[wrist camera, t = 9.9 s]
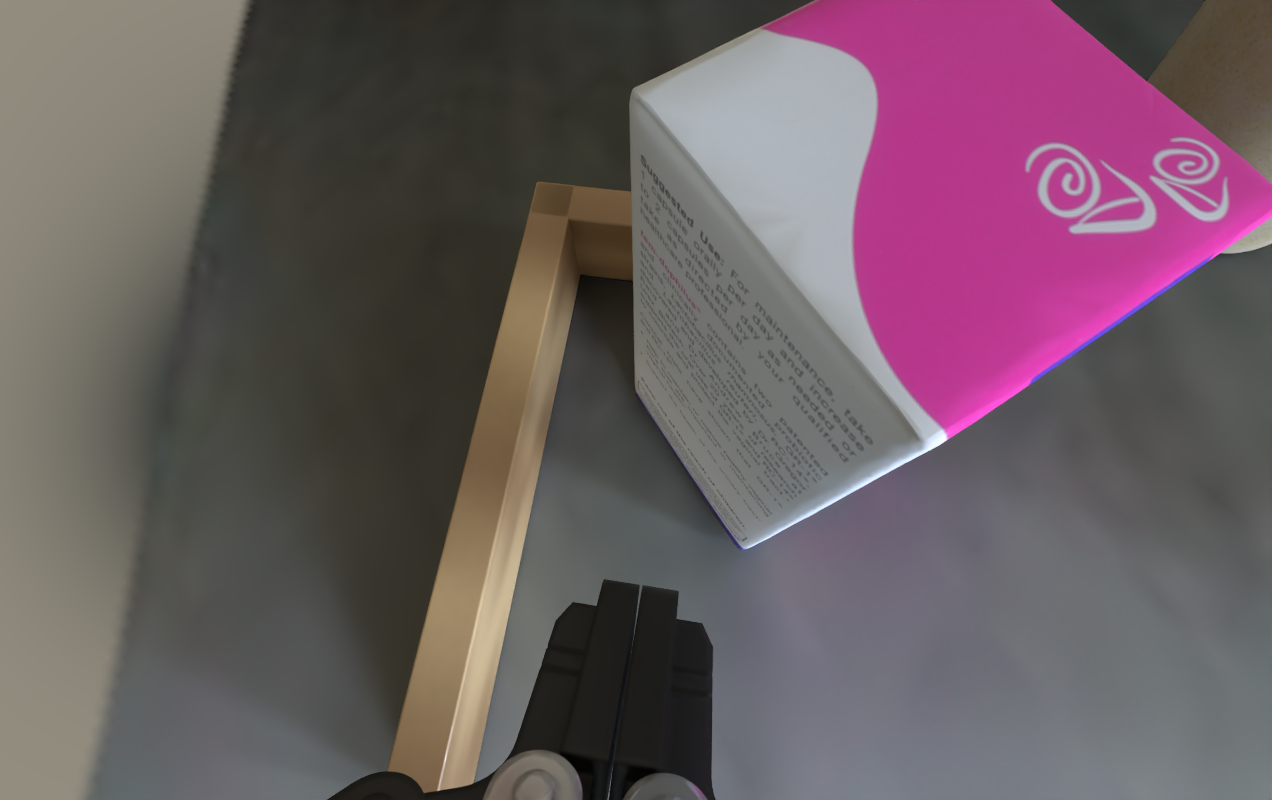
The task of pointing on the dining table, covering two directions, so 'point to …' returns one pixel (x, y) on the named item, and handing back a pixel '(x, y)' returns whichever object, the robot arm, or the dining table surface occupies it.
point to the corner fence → (503, 481)
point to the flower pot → (1227, 85)
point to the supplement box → (896, 234)
